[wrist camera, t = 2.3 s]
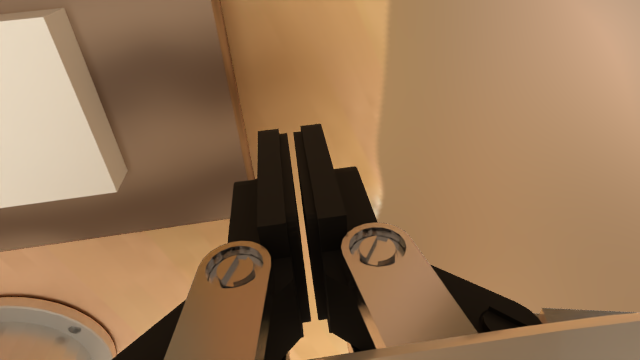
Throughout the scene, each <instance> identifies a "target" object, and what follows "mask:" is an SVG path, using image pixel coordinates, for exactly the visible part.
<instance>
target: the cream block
mask: <svg viewBox="0 0 640 360" xmlns="http://www.w3.org/2000/svg"><path fill="white" fill-rule="evenodd" d="M127 171H128V170H127V168H126V165H125V163H124V160H123V158H122V155H121V153H120V150H119V147H118V145H117V142H116V140H115V137H114V135H113V132H112V129H111V127H110V124H109V122H108V119H107V117H106V114H105V112H104V109H103V106H102V104H101V101H100V99H99V96H98V94H97V91H96V88H95V86H94V83H93V81H92V78H91V76H90V73H89V71H88V68H87V65H86V63H85V60H84V58H83V55H82V53H81V50H80V48H79V45H78V42H77V40H76V37H75V35H74V32H73V30H72V27H71V24H70V22H69V19H68V17H67V14H66V12H65V9H64V8H56V9H47V10H37V11H28V12H18V13H8V14H0V208H5V207H13V206H20V205H27V204H34V203H42V202H49V201H56V200H63V199H71V198H78V197H85V196H93V195H100V194H107V193H114V192H117V191H118V189H119V187H120V185H121V183H122V181H123V179H124V177H125V175H126V173H127Z"/></svg>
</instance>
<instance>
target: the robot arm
mask: <svg viewBox="0 0 640 360" xmlns="http://www.w3.org/2000/svg"><path fill="white" fill-rule="evenodd" d="M293 133H294V141H295V149H296V157H297V166H298V174H299V182H300V190H301V198H302V206H303V214H304V221H305V229H306V236H307V243H308V250H309V257H310V264H311V271H312V278H313V285H314V292H315V299H316V306H317V313H318V320H324V319H327V321H328V327H329V333H334V334H335V335H337V336H338V337H340V338H342V339H343V340H345V341H346V342H347V346H348V351H349V353H348V354H341V355H335V356H328V357H322V358H316V359H309V360H640V313H636V312H615V311H594V310H593V311H592V310H571V309H551V308H542V309H541V312H540V314H534V313H532V312H531V311H530V310H529V309H527V308H526V307H524V306H522V305H520V304H518V303H516V302H515V301H512V300H510V299H508V298H505V297H503V296H501V295H499V294H496V293H494V292H492V291H489V290H487V289H485V288H483V287H480V286H478V285H476V284H473V283H471V282H469V281H467V280H464V279H462V278H460V277H457V276H455V275H453V274H451V273H448V272H446V271H444V270H441V269H439V268H437V267H434V266H432V265H430V264H429V263H428V261H427V260H426V258H425V257H424V256H423V255H422V253H421V252H420V250H419V249H418V247H417V246H416V244H415V243H414V241H413V240H412V239H411V237H410V236H409V235H408V234H407V233H406V232H405V231H404V230H401V229H400V228H398V227H396V226H394V225H390V224H387V223H377V220H376V217H375V215H374V212H373V209H372V207H371V204H370V201H369V199H368V196H367V193H366V191H365V188H364V185H363V183H362V180H361V177H360V175H359V172H358V170H357V168H356V167H347V168H339V169H333V165H332V162H331V158H330V155H329V151H328V148H327V144H326V140H325V137H324V133H323V130H322V126H321V124H315V125H306V126H301V132H293ZM310 321H311V316H310V308H309V300H308V292H307V284H306V276H305V268H304V260H303V252H302V243H301V235H300V227H299V219H298V212H297V204H296V197H295V189H294V182H293V174H292V167H291V159H290V152H289V144H288V137H287V133H285V134H279V130H278V129H274V130H265V131H258V175H257V179H254V180H246V181H238V182H234V186H233V195H232V205H231V215H230V225H229V235H228V243H227V244H224V245H221V246H219V247H218V248H216V249H214V250H213V251H211V252H210V253H209V254H208V255H207V256H206V257H205V258H204V259H203V260H202V262H201V263H200V265H199V267H198V269H197V272H196V275H195V277H194V280H193V283H192V285H191V288H190V291H189V293H188V296H187V299H186V300H185V301H184V302H182V303H181V304H180V305H179V306H177V307H176V308H175V309H174V310H173V311H171V312H170V313H169V314H168V315H166V316H165V317H164V318H163V319H161V320H160V321H159V322H158V323H156V324H155V325H154V326H153V327H151V328H150V329H149V330H148V331H146V332H145V333H144V334H143V335H141V336H140V337H139V338H138V339H137V340H135V341H134V342H133V343H132V344H130V345H129V346H128V347H127V348H125V349H124V350H123V351H122V352H120V353H119V354H118V355H117V356H116V350H115V345H114V343H113V341H112V339H111V337H110V335H109V334H108V333H107V332H106V331H105V330H104V329H103V327H102V326H101V325H99V324H98V323H97V322H95V321H94V320H93V319H91V318H90V317H89V316H87V315H85V314H83V313H81V312H79V311H77V310H75V309H73V308H70V307H67V306H65V305H62V304H59V303H55V302H51V301H46V300H42V299H34V298H26V297H2V298H0V360H290V353H289V350H290V349H291V348H292V347H293V346H294V345H295V344H296V343H297V342H298V340H299V339H300V338H301V337H304V335H303V325H302V323H304V322H310Z"/></svg>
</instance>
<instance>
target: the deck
mask: <svg viewBox="0 0 640 360" xmlns="http://www.w3.org/2000/svg"><path fill="white" fill-rule="evenodd" d="M56 8H64V9H65V12H66V14H67V17H68V19H69V22H70V24H71V27H72V30H73V32H74V35H75V37H76V40H77V42H78V45H79V48H80V50H81V53H82V55H83V58H84V60H85V63H86V65H87V68H88V71H89V73H90V76H91V78H92V81H93V83H94V86H95V88H96V91H97V94H98V96H99V99H100V101H101V104H102V106H103V109H104V112H105V114H106V117H107V119H108V122H109V124H110V127H111V129H112V132H113V135H114V137H115V140H116V142H117V145H118V147H119V150H120V153H121V155H122V158H123V160H124V163H125V165H126V168H127V170H128V171H127V173H126V175H125V177H124V179H123V181H122V183H121V185H120V187H119V189H118V191H117V192H114V193H107V194H100V195H93V196H85V197H78V198H71V199H63V200H56V201H49V202H42V203H34V204H27V205H20V206H13V207H5V208H0V252H3V251H10V250H17V249H23V248H30V247H37V246H44V245H51V244H58V243H65V242H72V241H79V240H85V239H92V238H99V237H106V236H113V235H120V234H127V233H134V232H141V231H147V230H154V229H161V228H168V227H175V226H182V225H189V224H196V223H202V222H209V221H216V220H223V219H230V215H231V205H232V195H233V186H234V182H238V181H246V180H254V179H255V178H254V173H253V168H252V162H251V157H250V152H249V147H248V142H247V137H246V132H245V127H244V121H243V116H242V111H241V106H240V101H239V96H238V91H237V85H236V80H235V75H234V70H233V65H232V60H231V55H230V49H229V44H228V39H227V34H226V29H225V24H224V19H223V14H222V8H221V3H220V0H0V14H8V13H18V12H28V11H37V10H47V9H56Z"/></svg>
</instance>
